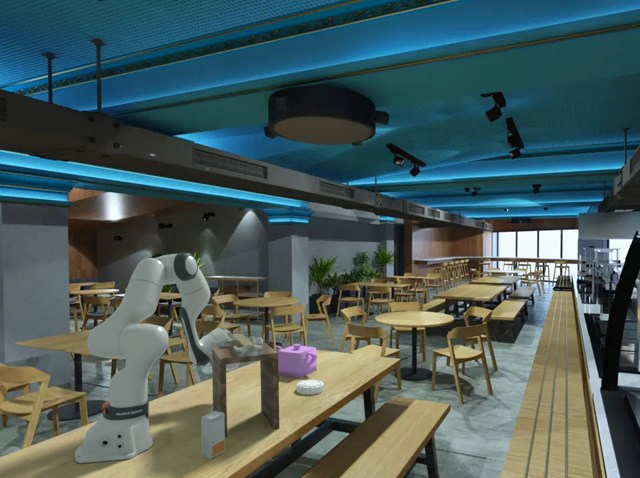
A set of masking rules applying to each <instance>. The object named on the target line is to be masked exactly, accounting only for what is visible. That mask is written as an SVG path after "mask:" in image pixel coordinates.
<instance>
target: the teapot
mask: <svg viewBox="0 0 640 478" xmlns="http://www.w3.org/2000/svg"><path fill="white" fill-rule="evenodd" d="M274 347H275V348H276V349H277V352H278V371H279V375H280V376H283V377H289V378H290V377H291V378H297V379H301V378H303V377H305V376H308V375H310V374H312V373H314V372H316V371H317V359H318V356H317V348H316V346H306V345H302V344H300V343H294V344H293V345H291V346H289V347H286V348H282V346H280V345H275V346H274Z"/></svg>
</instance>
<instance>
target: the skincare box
mask: <svg viewBox="0 0 640 478" xmlns="http://www.w3.org/2000/svg"><path fill="white" fill-rule="evenodd" d="M200 417H201V418H200V419H201V421H200V424H201V425H200V427H201V428H200V429H201V430H200V431H201V433H200V434H201V436H200V437H201V442H200V444H201V445H200V446H201V447H200V448H201V449H200V450H201V452H200V453H201V457H204V458H207V459H210V460H212V459H213V458H215V457H217V456H219V455H221V454H223V453H225V451H226V447H225V444H226V442H225V441H226V437H225V413H222V412H218V411H214V412H213V411H211V412H209V413H207V414H205V415H203V416H200Z"/></svg>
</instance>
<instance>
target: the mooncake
mask: <svg viewBox="0 0 640 478" xmlns="http://www.w3.org/2000/svg"><path fill="white" fill-rule="evenodd" d="M295 388H296V392H297V394H299V395H300V394H301V395H303V396H305V395H307V396H310V395H312V396H314V395H319V394H321V393H323V392H324V391H325V384H324V382H323V381H321V380H318V379H304V380H301V381H297V383H296V387H295Z"/></svg>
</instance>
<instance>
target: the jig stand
mask: <svg viewBox="0 0 640 478" xmlns="http://www.w3.org/2000/svg"><path fill="white" fill-rule="evenodd" d="M277 351H278V350H277ZM277 351H276V350H275V349H274V348H273V347H271V346H270V345H268V344H267V343H266V342H263V343H259V344H254V346H253V347H243V348H239V347H238V346H228V347H217V348H212V360H211V364H212V365H211V369H212V373H211V374H212V377H211V378H212V412H214V411H218V412H222V413H225V438H228V418H227V417H228V416H227V415H228V414H227V412H228V410H227V409H228V408H227V401H228V400H227V371H226V364H233V363H240V364H241V363H248V362H249V363H251V362H258V361H260V412H261V414H262V415H263V417H264V418H265V419H266V421H267V422H268V424H269V425H270V426H271V427H272V429H273V430H277V429H280V387H279V385H280V383H279V378H280V377H279V371H278V352H277Z"/></svg>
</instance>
